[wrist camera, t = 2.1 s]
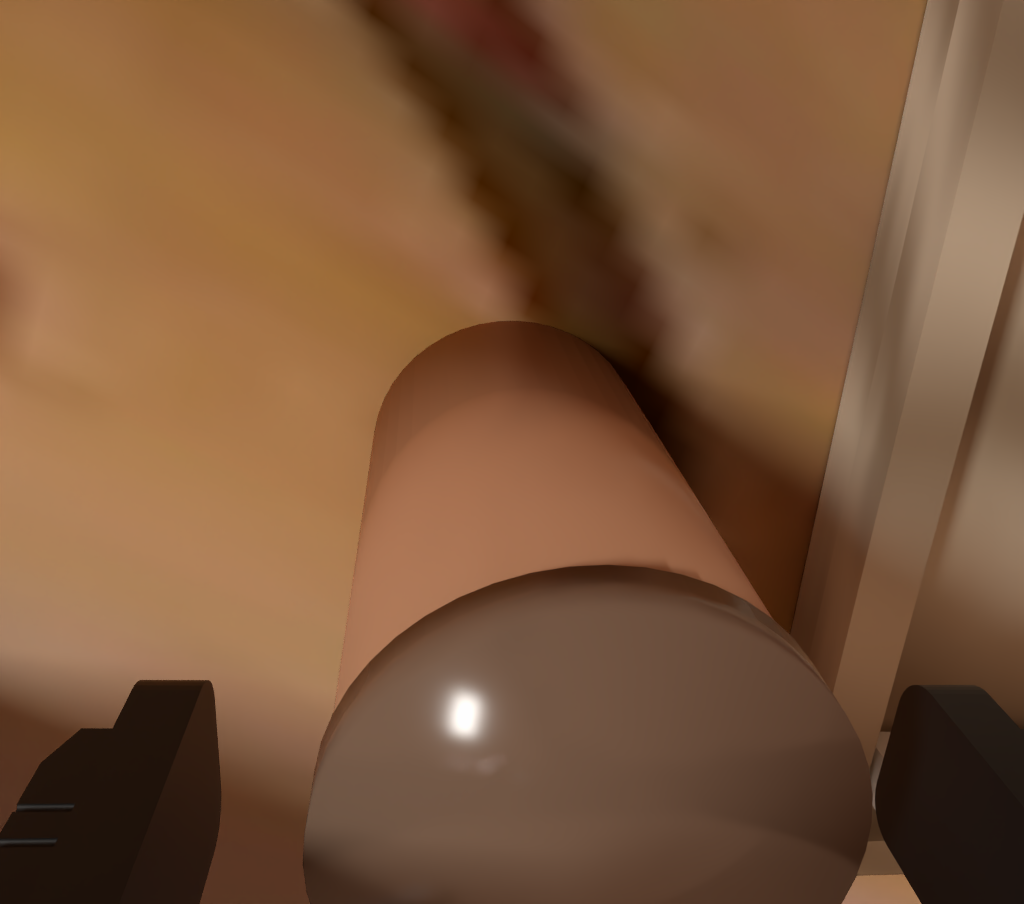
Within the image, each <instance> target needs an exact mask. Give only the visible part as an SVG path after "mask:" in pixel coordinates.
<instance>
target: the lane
mask: <svg viewBox="0 0 1024 904" xmlns="http://www.w3.org/2000/svg"><path fill="white" fill-rule="evenodd" d="M790 635H791V636H792V637H793V638H794V639H795V640H796V642H797V643H798V644H799V646H800V647H801V648H802V649H803V651H804V652H805V653H806V655H807V656H808V657H809V658H810V660H811V661H812V662H813V664H814V666H815V667H816V669H817V670H818V672H819V673H820V675H821V676H822V678H823V679H824V681H825V682H826V684H827V686H828V687H829V689H830V690H831V692H832V693H833V695H834V696H835V698H836V699H837V701H838V702H839V704H840V706H841V707H842V709H843V710H844V712H845V713H846V715H847V717H848V719H849V720H850V722H851V724H852V726H853V728H854V730H855V732H856V733H857V735H858V737H859V739H860V741H861V744H862V747H863V750H864V753H865V757H866V760H867V763H868V766H869V770H870V766H871V762H872V759H873V755H874V752H875V748H876V744H877V741H878V737H879V733H880V732H891V729H892V726H893V722H894V718H895V715H896V711H897V707H898V704H899V701H900V698H901V695H902V694H903V692H904V691H905V690H906V688H908V687H909V686H911V685H975V686H978V687H980V688H982V689H984V690H985V691H986V692H987V693H988V694H989V695H990V696H991V697H992V698H993V699H994V700H995V702H996V703H997V704H998V705H999V706H1000V707H1001V708H1002V709H1003V710H1004V711H1005V712H1006V714H1007V715H1008V716H1009V717H1010V718H1011V719H1012V720H1013V721H1014V722H1015V723H1016V724H1017V726H1018V727H1019V728H1020V729H1024V0H928V2H927V6H926V11H925V16H924V20H923V25H922V29H921V34H920V39H919V43H918V48H917V52H916V57H915V62H914V66H913V71H912V76H911V80H910V85H909V89H908V94H907V99H906V103H905V108H904V112H903V117H902V122H901V126H900V131H899V135H898V140H897V145H896V149H895V154H894V158H893V163H892V168H891V172H890V177H889V181H888V186H887V191H886V195H885V200H884V204H883V209H882V214H881V218H880V223H879V228H878V232H877V237H876V241H875V246H874V251H873V255H872V260H871V264H870V269H869V274H868V278H867V283H866V287H865V292H864V297H863V301H862V306H861V310H860V315H859V320H858V324H857V329H856V333H855V338H854V343H853V347H852V352H851V357H850V361H849V366H848V370H847V375H846V380H845V384H844V389H843V393H842V398H841V403H840V407H839V412H838V416H837V421H836V426H835V430H834V435H833V439H832V444H831V449H830V453H829V458H828V462H827V467H826V472H825V476H824V481H823V486H822V490H821V495H820V499H819V504H818V509H817V513H816V518H815V522H814V527H813V532H812V536H811V541H810V545H809V550H808V555H807V559H806V564H805V568H804V573H803V578H802V582H801V587H800V591H799V596H798V601H797V605H796V610H795V615H794V619H793V624H792V628H791V633H790ZM895 874H904V873H903V872H902V870H901V868H900V867H899V865H898V863H897V862H896V860H895V858H894V857H893V855H892V853H891V852H890V850H889V848H888V847H887V845H886V843H885V841H884V839H883V837H882V834H881V832H880V828H879V825H878V821H877V816H876V810H875V809H874V807H873V805H872V824H871V829H870V833H869V838H868V843H867V848H866V852H865V854H864V857H863V860H862V862H861V865H860V868H859V870H858V873H857V876H858V875H895Z"/></svg>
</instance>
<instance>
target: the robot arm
mask: <svg viewBox="0 0 1024 904" xmlns="http://www.w3.org/2000/svg"><path fill="white" fill-rule="evenodd" d="M875 810H876V816H877V821H878V825H879V828H880V832H881V834H882V837H883V839H884V841H885V843H886V845H887V847H888V848H889V850H890V852H891V853H892V855H893V857H894V858H895V860H896V862H897V863H898V865H899V867H900V868H901V870H902V872H903V873H904V875H905V877H906V878H907V880H908V882H909V883H910V885H911V887H912V888H913V890H914V892H915V893H916V895H917V897H918V898H919V900H920V902H921V903H922V904H1024V729H1020V728H1019V727H1018V726H1017V724H1016V723H1015V722H1014V721H1013V720H1012V719H1011V718H1010V717H1009V716H1008V715H1007V714H1006V712H1005V711H1004V710H1003V709H1002V708H1001V707H1000V706H999V705H998V704H997V703H996V702H995V700H994V699H993V698H992V697H991V696H990V695H989V694H988V693H987V692H986V691H985V690H984V689H982V688H980V687H978V686H975V685H911V686H909V687H908V688H906V690H905V691H904V692H903V694H902V695H901V698H900V701H899V704H898V707H897V711H896V715H895V718H894V722H893V726H892V729H891V733H890V736H889V740H888V744H887V747H886V751H885V755H884V758H883V762H882V766H881V769H880V773H879V777H878V780H877V784H876V789H875ZM220 812H221V780H220V766H219V752H218V738H217V724H216V710H215V697H214V690H213V686H212V683H211V682H210V681H209V680H140V681H138V682H137V683H136V684H135V685H134V687H133V689H132V691H131V693H130V695H129V697H128V699H127V701H126V703H125V705H124V707H123V709H122V711H121V713H120V715H119V717H118V719H117V721H116V723H115V725H114V727H113V729H80V730H79V731H78V732H77V733H76V734H74V735H73V736H72V737H71V738H70V739H69V740H67V741H66V742H65V743H64V744H63V745H61V746H60V747H59V748H58V749H57V750H56V751H54V752H53V753H52V754H51V755H50V756H49V757H47V758H46V759H45V760H44V761H43V762H41V764H40V765H39V767H38V769H37V771H36V772H35V774H34V776H33V777H32V779H31V781H30V783H29V784H28V786H27V788H26V790H25V791H24V793H23V795H22V796H21V798H20V800H19V802H18V803H17V810H16V812H12V814H11V815H10V817H9V819H8V821H7V822H6V824H5V826H4V828H3V829H2V831H1V833H0V904H199V903H200V900H201V896H202V893H203V889H204V886H205V882H206V879H207V875H208V872H209V868H210V865H211V861H212V858H213V854H214V850H215V846H216V842H217V836H218V830H219V823H220Z"/></svg>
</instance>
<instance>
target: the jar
mask: <svg viewBox="0 0 1024 904" xmlns="http://www.w3.org/2000/svg"><path fill="white" fill-rule="evenodd" d="M872 802H873V793H872V786H871V778H870V771H869V766H868V763H867V760H866V757H865V753H864V750H863V747H862V744H861V741H860V739H859V737H858V735H857V733H856V732H855V730H854V728H853V726H852V724H851V722H850V720H849V719H848V717H847V715H846V713H845V712H844V710H843V709H842V707H841V706H840V704H839V702H838V701H837V699H836V698H835V696H834V695H833V693H832V692H831V690H830V689H829V687H828V686H827V684H826V682H825V681H824V679H823V678H822V676H821V675H820V673H819V672H818V670H817V669H816V667H815V666H814V664H813V662H812V661H811V660H810V658H809V657H808V656H807V655H806V653H805V652H804V651H803V649H802V648H801V647H800V646H799V644H798V643H797V642H796V640H795V639H794V638H793V637H792V636H791V635H790V634H789V633H788V632H786V631H785V630H784V629H783V628H782V627H781V626H780V625H779V624H778V623H777V622H776V621H775V620H773V618H772V617H771V615H770V614H769V612H768V610H767V609H766V607H765V606H764V604H763V602H762V601H761V599H760V598H759V596H758V594H757V593H756V591H755V590H754V588H753V587H752V585H751V583H750V582H749V580H748V579H747V577H746V575H745V574H744V572H743V571H742V569H741V567H740V566H739V564H738V563H737V561H736V560H735V558H734V556H733V555H732V553H731V552H730V550H729V548H728V547H727V545H726V544H725V542H724V540H723V539H722V537H721V536H720V534H719V532H718V531H717V529H716V528H715V526H714V525H713V523H712V521H711V520H710V518H709V517H708V515H707V513H706V512H705V510H704V509H703V507H702V505H701V504H700V502H699V501H698V499H697V498H696V496H695V494H694V493H693V491H692V490H691V488H690V486H689V485H688V483H687V482H686V480H685V478H684V477H683V475H682V474H681V472H680V471H679V469H678V467H677V466H676V464H675V463H674V461H673V459H672V458H671V456H670V455H669V453H668V451H667V450H666V448H665V447H664V445H663V443H662V442H661V440H660V439H659V437H658V436H657V434H656V432H655V431H654V429H653V428H652V426H651V424H650V423H649V421H648V420H647V418H646V416H645V415H644V413H643V412H642V410H641V409H640V407H639V405H638V404H637V402H636V401H635V399H634V397H633V396H632V394H631V393H630V391H629V389H628V388H627V386H626V385H625V383H624V382H623V380H622V378H621V377H620V376H619V374H618V373H617V372H616V370H615V369H614V368H613V366H612V365H611V364H610V363H609V362H608V361H607V360H606V359H605V358H604V357H603V356H602V355H601V354H600V353H599V352H598V351H596V350H595V349H594V348H592V347H591V346H590V345H588V344H587V343H586V342H584V341H582V340H580V339H578V338H577V337H575V336H573V335H571V334H569V333H567V332H564V331H562V330H559V329H556V328H554V327H550V326H546V325H542V324H538V323H532V322H522V321H498V322H491V323H485V324H479V325H475V326H472V327H468V328H465V329H462V330H459V331H457V332H455V333H452V334H450V335H448V336H446V337H444V338H442V339H440V340H439V341H437V342H435V343H434V344H432V345H430V346H429V347H428V348H426V349H425V350H424V351H422V352H421V353H420V354H419V355H417V356H416V357H415V358H414V359H413V360H412V361H411V362H410V363H409V364H408V365H407V366H406V367H405V368H404V369H403V370H402V372H401V373H400V374H399V376H398V377H397V378H396V380H395V381H394V383H393V384H392V386H391V387H390V389H389V391H388V393H387V395H386V397H385V398H384V401H383V403H382V406H381V409H380V411H379V414H378V418H377V422H376V427H375V431H374V438H373V445H372V451H371V458H370V465H369V472H368V479H367V486H366V493H365V500H364V506H363V513H362V520H361V527H360V534H359V541H358V548H357V555H356V561H355V568H354V575H353V582H352V589H351V596H350V603H349V610H348V616H347V623H346V630H345V637H344V644H343V651H342V658H341V665H340V671H339V678H338V685H337V692H336V699H335V706H334V713H333V714H332V717H331V719H330V722H329V724H328V727H327V729H326V731H325V734H324V736H323V739H322V741H321V745H320V749H319V754H318V758H317V762H316V767H315V771H314V778H313V784H312V790H311V796H310V803H309V809H308V815H307V821H306V828H305V834H304V852H303V868H304V876H305V884H306V891H307V895H308V898H309V901H310V904H841V903H842V902H843V900H844V898H845V896H846V895H847V893H848V891H849V889H850V887H851V885H852V883H853V882H854V880H855V878H856V876H857V873H858V870H859V868H860V865H861V862H862V860H863V857H864V854H865V852H866V848H867V843H868V838H869V833H870V829H871V824H872Z"/></svg>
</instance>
